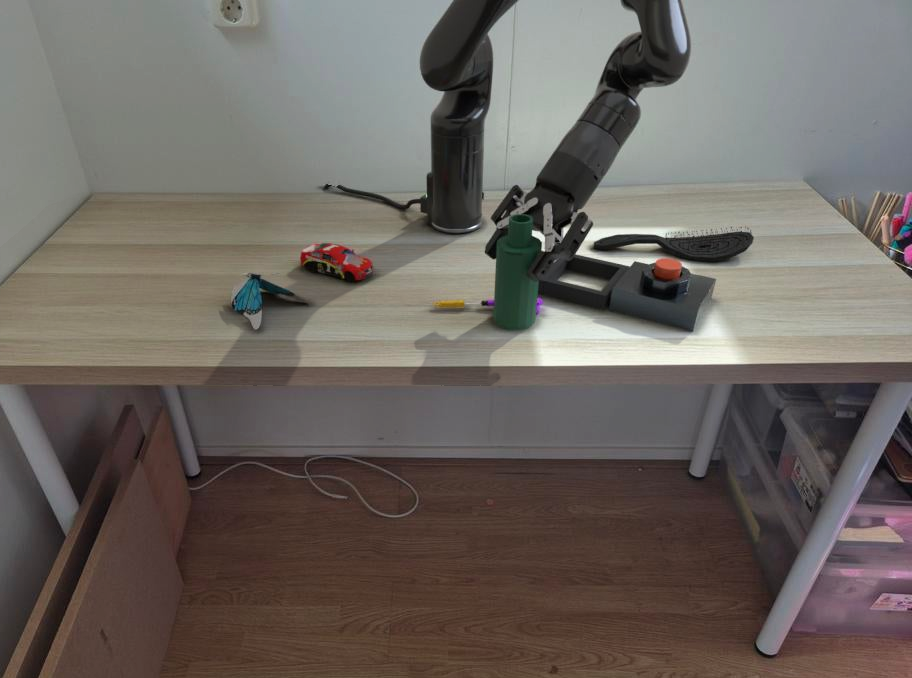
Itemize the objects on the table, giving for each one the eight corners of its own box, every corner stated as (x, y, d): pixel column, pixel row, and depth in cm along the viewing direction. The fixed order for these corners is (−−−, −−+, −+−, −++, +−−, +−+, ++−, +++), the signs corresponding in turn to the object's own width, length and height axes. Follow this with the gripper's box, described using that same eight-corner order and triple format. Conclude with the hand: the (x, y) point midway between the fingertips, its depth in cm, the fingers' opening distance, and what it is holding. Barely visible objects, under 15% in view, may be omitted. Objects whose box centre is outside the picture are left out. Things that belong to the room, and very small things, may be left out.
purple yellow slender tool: (542, 302, 105) (434, 304, 106) (542, 296, 104) (434, 298, 105) (543, 314, 103) (434, 316, 104) (544, 309, 102) (434, 311, 103)
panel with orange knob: (608, 310, 103) (613, 277, 100) (630, 282, 110) (636, 250, 106) (692, 332, 98) (701, 297, 94) (710, 301, 104) (719, 267, 101)
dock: (535, 293, 108) (536, 279, 107) (562, 265, 115) (564, 251, 114) (603, 311, 103) (606, 295, 102) (627, 280, 110) (630, 266, 109)
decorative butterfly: (262, 260, 112) (299, 263, 105) (274, 298, 115) (311, 303, 108) (208, 283, 106) (244, 288, 99) (222, 323, 109) (258, 330, 102)
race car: (380, 273, 116) (379, 250, 113) (361, 286, 112) (359, 264, 110) (317, 255, 122) (314, 234, 119) (297, 268, 118) (294, 246, 116)
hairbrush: (593, 222, 122) (748, 219, 117) (591, 242, 124) (743, 240, 119) (596, 243, 115) (760, 241, 111) (594, 263, 117) (755, 262, 113)
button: (650, 277, 100) (652, 265, 99) (657, 266, 103) (659, 256, 102) (675, 282, 99) (678, 271, 98) (682, 272, 101) (685, 261, 100)
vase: (486, 323, 101) (490, 222, 92) (504, 305, 105) (510, 206, 96) (524, 334, 99) (532, 231, 90) (541, 315, 103) (551, 214, 94)
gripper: (528, 137, 97) (461, 237, 98) (608, 164, 87) (533, 274, 89) (552, 167, 102) (489, 261, 104) (630, 194, 93) (559, 298, 94)
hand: (509, 267), depth 96 cm, fingers open, 8 cm apart
